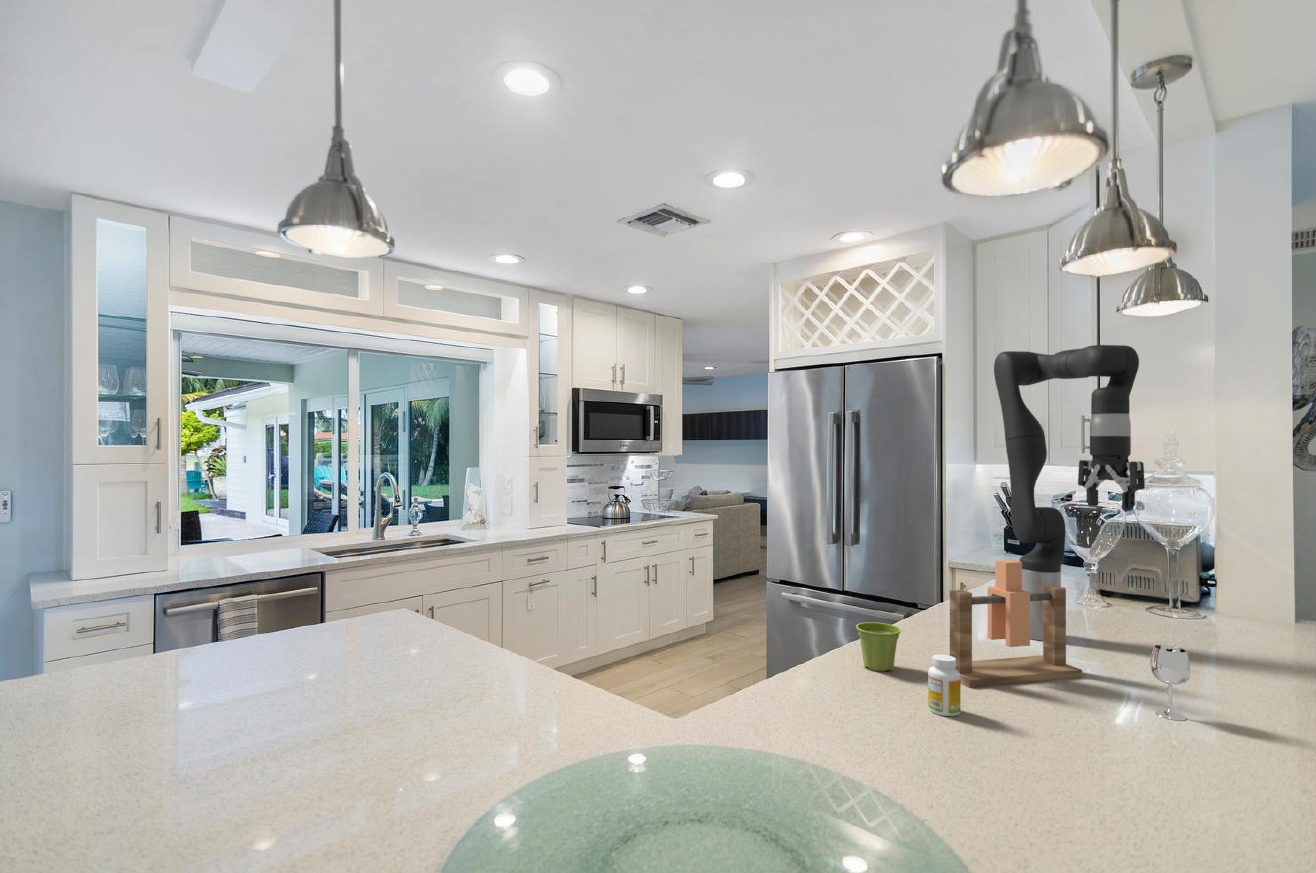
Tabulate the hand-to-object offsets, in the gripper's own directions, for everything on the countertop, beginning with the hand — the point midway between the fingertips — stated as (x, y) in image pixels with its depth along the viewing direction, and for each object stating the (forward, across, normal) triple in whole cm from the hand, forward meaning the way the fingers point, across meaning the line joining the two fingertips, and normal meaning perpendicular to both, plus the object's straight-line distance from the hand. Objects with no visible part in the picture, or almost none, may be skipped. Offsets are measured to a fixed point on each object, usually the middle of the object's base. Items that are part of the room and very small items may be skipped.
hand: (1109, 507), depth 145 cm
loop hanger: (+28, +1, +26) cm, 38 cm away
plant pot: (+36, +10, +51) cm, 63 cm away
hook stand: (+35, +1, +26) cm, 44 cm away
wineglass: (+35, -24, +13) cm, 45 cm away
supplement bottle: (+35, -14, +52) cm, 65 cm away
